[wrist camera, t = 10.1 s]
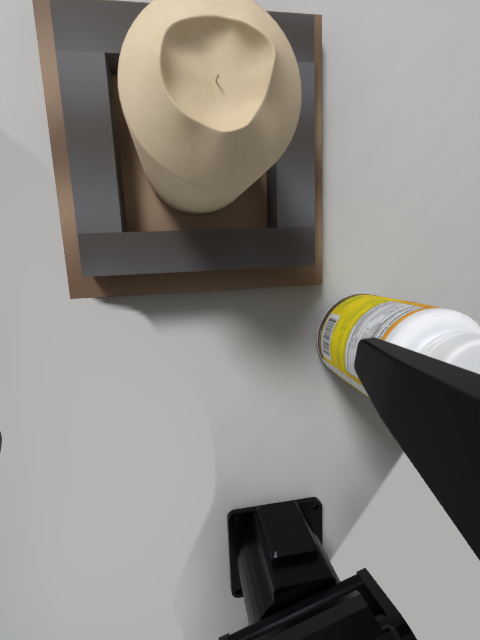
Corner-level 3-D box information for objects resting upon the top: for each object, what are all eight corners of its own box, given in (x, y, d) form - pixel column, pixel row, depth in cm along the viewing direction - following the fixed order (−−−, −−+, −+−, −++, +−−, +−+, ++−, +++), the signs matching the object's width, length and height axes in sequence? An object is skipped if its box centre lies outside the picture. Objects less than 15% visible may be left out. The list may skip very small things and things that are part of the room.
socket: (314, 282, 23) (336, 286, 20) (76, 296, 20) (58, 303, 17) (313, 28, 20) (338, -13, 17) (41, 11, 18) (13, -40, 15)
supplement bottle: (404, 348, 25) (559, 410, 15) (334, 390, 24) (445, 483, 14) (372, 275, 23) (519, 290, 13) (298, 319, 23) (392, 367, 13)
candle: (231, 93, 19) (292, -80, 9) (259, 200, 20) (340, 148, 10) (126, 119, 18) (73, -37, 8) (162, 228, 19) (151, 200, 10)
